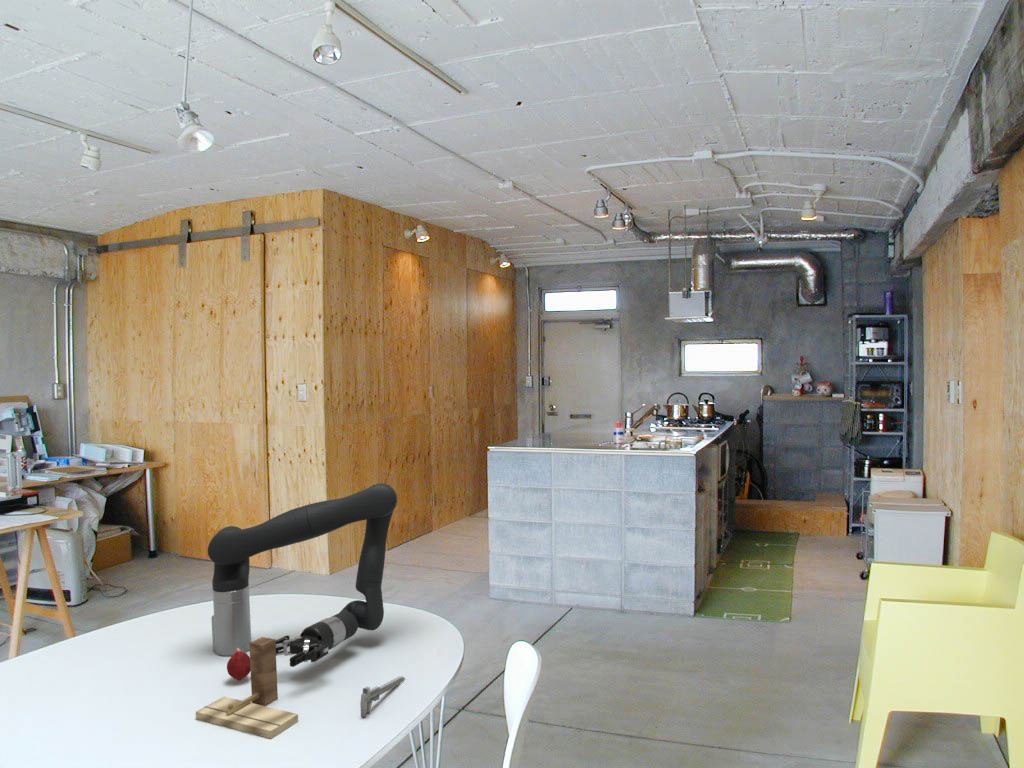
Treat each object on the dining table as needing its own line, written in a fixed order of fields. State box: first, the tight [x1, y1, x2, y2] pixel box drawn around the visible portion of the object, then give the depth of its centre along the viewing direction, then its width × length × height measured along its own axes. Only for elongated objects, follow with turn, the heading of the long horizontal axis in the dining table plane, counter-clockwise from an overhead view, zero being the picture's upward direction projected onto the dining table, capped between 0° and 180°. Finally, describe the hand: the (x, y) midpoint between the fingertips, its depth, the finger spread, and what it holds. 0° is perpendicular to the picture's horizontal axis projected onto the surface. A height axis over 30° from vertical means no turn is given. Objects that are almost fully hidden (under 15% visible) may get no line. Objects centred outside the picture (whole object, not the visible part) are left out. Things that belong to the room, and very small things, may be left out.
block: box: [226, 636, 279, 714], centre depth 169 cm, size 4×13×14 cm, turn 154°
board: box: [195, 696, 299, 739], centre depth 164 cm, size 22×8×2 cm, turn 64°
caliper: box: [360, 675, 406, 718], centre depth 173 cm, size 20×1×6 cm, turn 163°
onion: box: [226, 648, 251, 682], centre depth 184 cm, size 6×6×8 cm
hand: (277, 659), depth 177 cm, fingers open, 8 cm apart
